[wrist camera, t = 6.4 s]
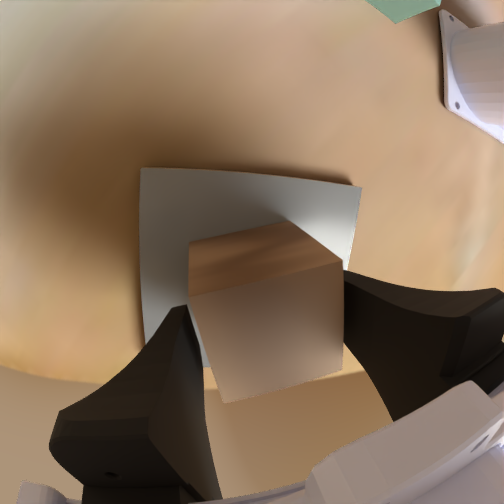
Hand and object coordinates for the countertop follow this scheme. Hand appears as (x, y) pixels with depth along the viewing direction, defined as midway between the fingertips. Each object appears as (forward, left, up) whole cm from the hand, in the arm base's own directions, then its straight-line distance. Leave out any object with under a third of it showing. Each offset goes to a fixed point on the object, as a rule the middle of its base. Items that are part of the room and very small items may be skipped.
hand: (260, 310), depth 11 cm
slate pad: (0, 0, -3) cm, 3 cm away
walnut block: (0, 0, -2) cm, 2 cm away
